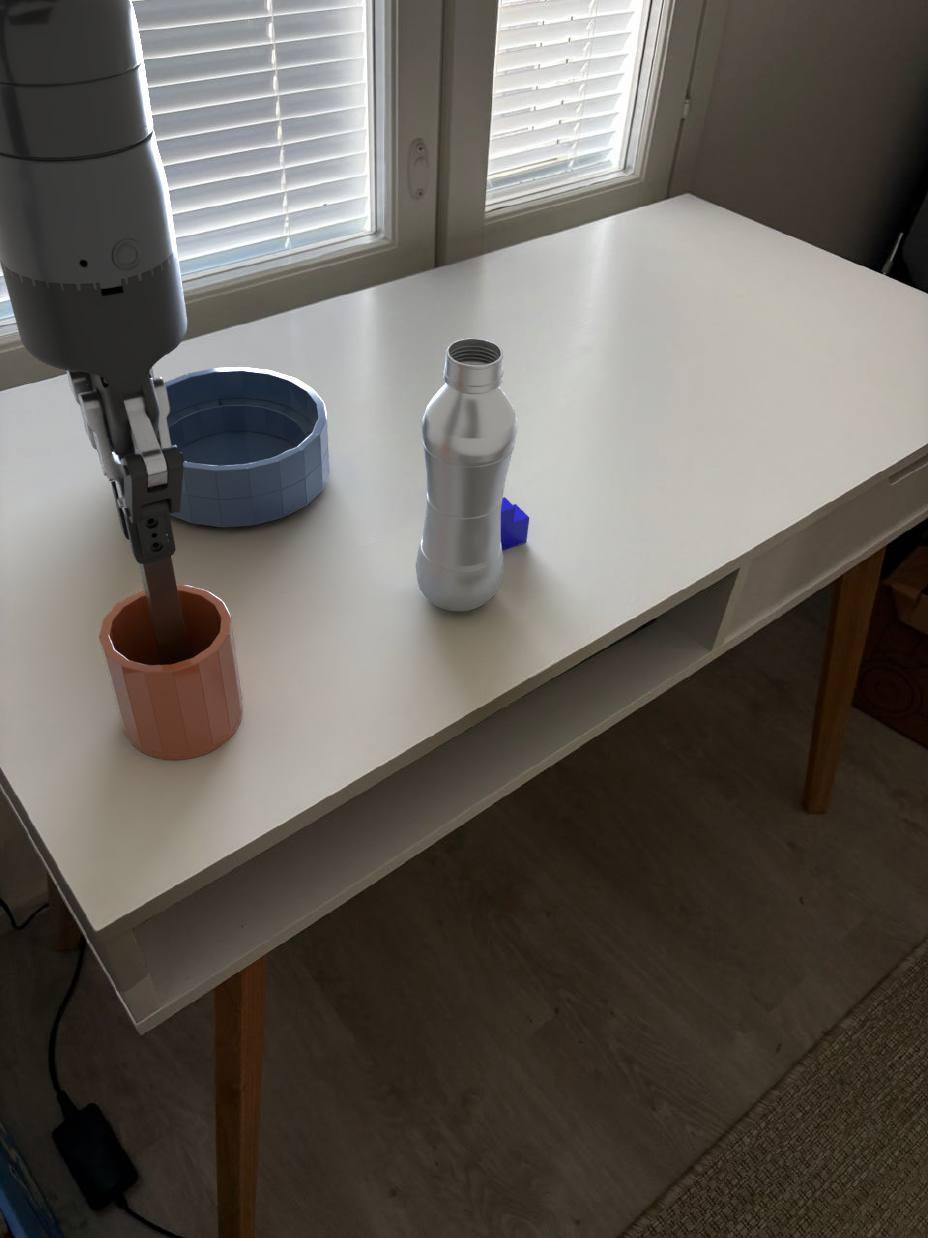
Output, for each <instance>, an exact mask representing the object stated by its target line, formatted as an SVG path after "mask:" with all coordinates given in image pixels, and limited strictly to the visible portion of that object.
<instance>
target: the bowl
mask: <svg viewBox="0 0 928 1238" xmlns="http://www.w3.org/2000/svg"><path fill="white" fill-rule="evenodd" d="M164 384H165V386H166V390H167V395H168V400H169V406H170V413H169V415H168V416H167V423H168V429H169V434H170V440H171V445H172V446H174V445H176V446H177V447H178V449H179V451H180V452H182V454H183V457H184V463H183V467H184V470H183V482H182V494H181V505H180V512H177V513H173V514H170V513H169V515H170V517H173V518H176V519H179V520H182V521H185V522H188V523H190V524H194V525H199V526H200V525H202V526H208V527H217V528H234V527H248V526H249V527H250V526H258V525H260V524H265V523H268V522H272V521H275V520H279V519H283V518H285V517H287V516H289V515H291V514H293V513H295V512H297V511H298V510H301V509H302V508H304V507H306V506H308V505H309V504H310V503H311V502H312V501H313V500H314V499H315V498H316V497H317V496H318V495H319V494H320V493H322V491H323V490H324V487H325V486H326V482H327V480H328V478H329V475H330V455H329V434H328V433H329V431H328V417H327V409H326V404H325V402H324V400H322V398H321V397H320V395H319V394H318V393H317V392H316V391H315V389H314V388H312V387H311V386H309V385H308V384H306V383H304V382H303V381H301V380H299V379H298V378H296V377H293V376H290V375H287V374H285V373H284V374H283V373H280V372H277V371H274V370H270V369H263V368H254V367H245V366H244V367H243V366H237V367H236V366H235V367H215V368H208V369H203V370H199V371H193V372H188V373H184V374H183V375H179V376H177V377H175V378H172V379H169V380H167V381H164Z"/></svg>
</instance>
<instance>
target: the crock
mask: <svg viewBox="0 0 928 1238" xmlns="http://www.w3.org/2000/svg"><path fill="white" fill-rule="evenodd" d="M177 590H178V595H179V600H180V606H181V611H182V617H183V622H184V627H185V633H186V638H187V644H188V649H189V654H190V656H195V657H193V658H191V659H188V660H184V661H181V662H178V663H175V664H171V665H155V664H156V663H158V662H159V661H160V660H159V655H158V651H157V646H156V641H155V637H154V632H153V627H152V623H151V618H150V613H149V609H148V604H147V599H146V595H145V590H144V589H143V590H139V591H136V592H133V593H132V594H130V595H128V596H127V597H125V598H124V599H122V600H120V601H118V602H117V603H116V604H115V605H113V607H112V608H111V610H109V612H108V613H107V614H106V616H105V617H103V620H102V621H101V627H100V631H99V635H98V640H99V644H100V648H101V651H102V655H103V659H104V663H105V666H106V670H107V674H108V677H109V682H110V685H111V689H112V692H113V696H114V700H115V705H116V707H117V712H118V715H119V719H120V722H121V724H122V728H123V730H124V734H125V735H126V738H127V740H128V741H129V742H130V744H131V745H132V746H133V747H134V748H136V749H137V750H138V751H140V752H141V753H143V754H145V755H147V756H150V757H153V758H156V759H161V760H168V761H179V760H188V759H193V758H197V757H201V756H203V755H205V754H208V753H211V752H212V751H214V750H216V749H218V748H219V747H221V746H222V745H224V744H225V743H226V742H227V741H229V739H230V738H231V737H232V736H233V735H234V734H235V733H236V731H237V729H238V728H239V725H241V721H242V718H243V712H244V707H243V694H242V693H243V692H242V683H241V678H240V670H239V663H238V657H237V648H236V641H235V634H234V627H233V626H234V625H233V620H232V619H233V618H232V614H231V613H230V611H229V609H228V607H227V605H226V603H225V602H224V601H223V600H222V599H220V598H219V597H217V596H216V595H215V594H213V593H212V592H210V590H206V589H203V588H199V587H196V586H191V585H188V584H177Z"/></svg>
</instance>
